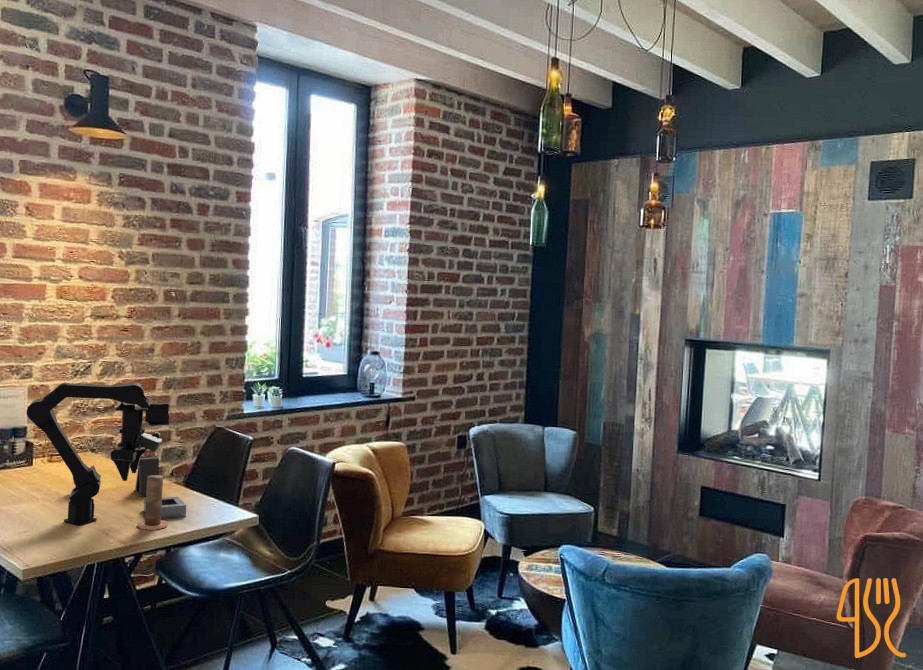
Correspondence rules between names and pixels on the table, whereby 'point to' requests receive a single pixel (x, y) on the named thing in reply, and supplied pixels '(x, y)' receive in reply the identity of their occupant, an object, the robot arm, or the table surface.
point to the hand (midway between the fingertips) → (129, 476)
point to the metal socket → (171, 507)
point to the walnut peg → (153, 500)
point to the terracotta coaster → (143, 526)
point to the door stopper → (146, 473)
